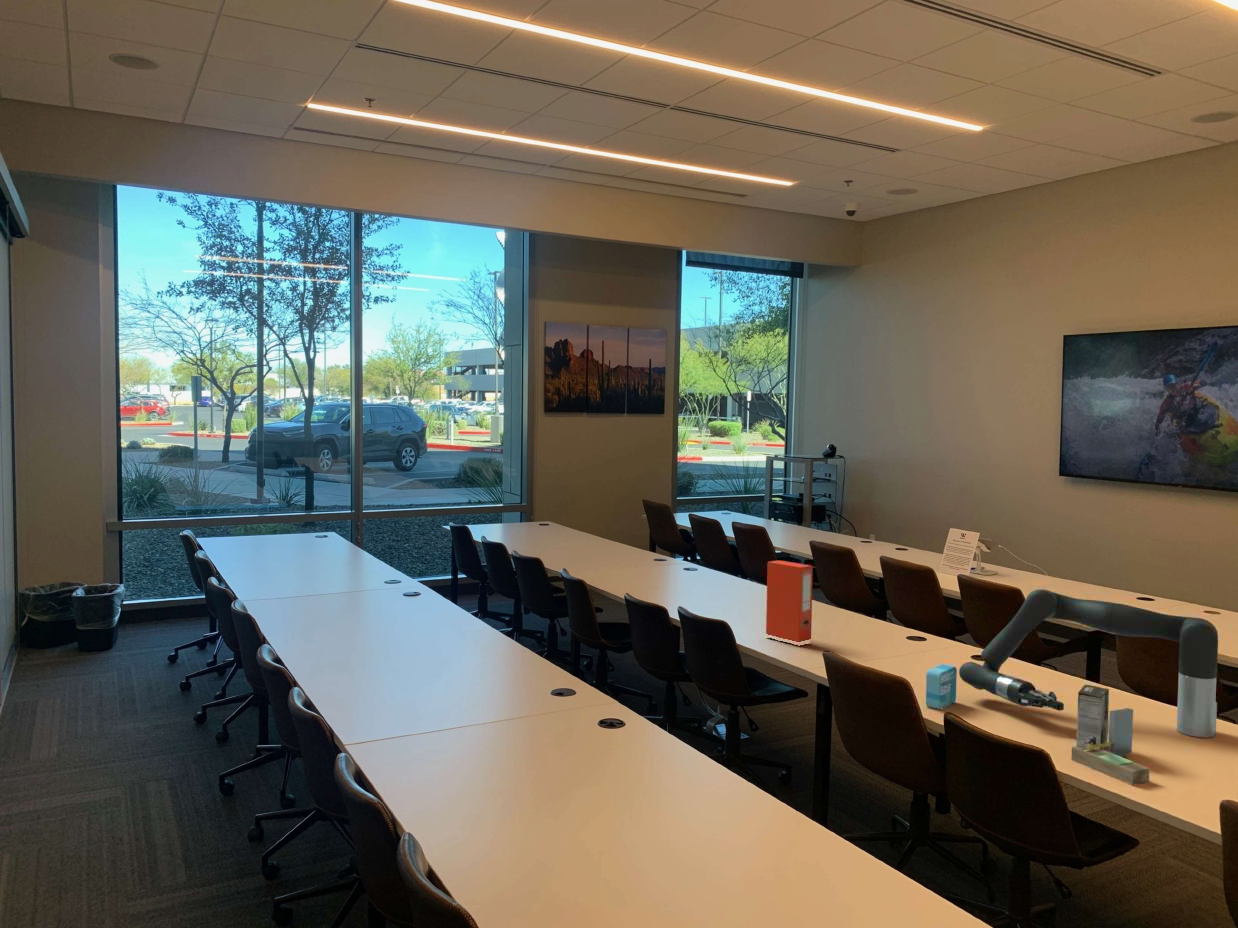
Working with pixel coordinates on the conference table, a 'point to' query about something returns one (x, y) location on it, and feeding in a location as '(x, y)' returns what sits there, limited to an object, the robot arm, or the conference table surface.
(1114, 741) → the blue-grey flat panel
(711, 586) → the conference table surface
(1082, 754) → the frame
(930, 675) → the data package
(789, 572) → the file binder
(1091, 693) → the coffee box
